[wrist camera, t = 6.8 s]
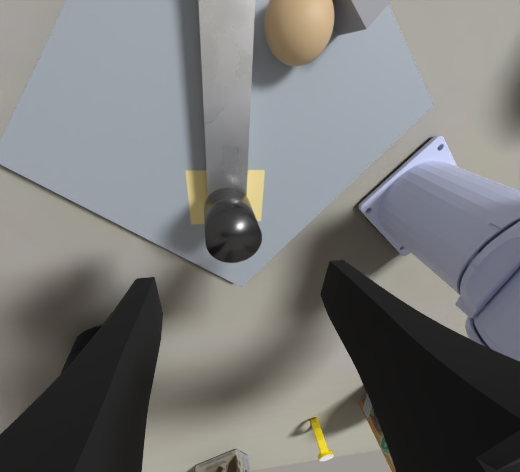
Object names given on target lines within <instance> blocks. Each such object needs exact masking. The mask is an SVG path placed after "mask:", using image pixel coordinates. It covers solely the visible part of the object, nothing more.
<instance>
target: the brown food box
mask: <svg viewBox="0 0 520 472" xmlns="http://www.w3.org/2000/svg"><path fill="white" fill-rule="evenodd" d="M195 472H250V469H249V461H248V456H247V455H246V454H244V453H242V452H240V451H238V450H237V449H236V450H233V451H230V452H228V453H225V454H223V455H220V456H218V457H215V458H213V459H210V460H208V461H205V462H203V463H200V464H198V465H196V466H195Z"/></svg>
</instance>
